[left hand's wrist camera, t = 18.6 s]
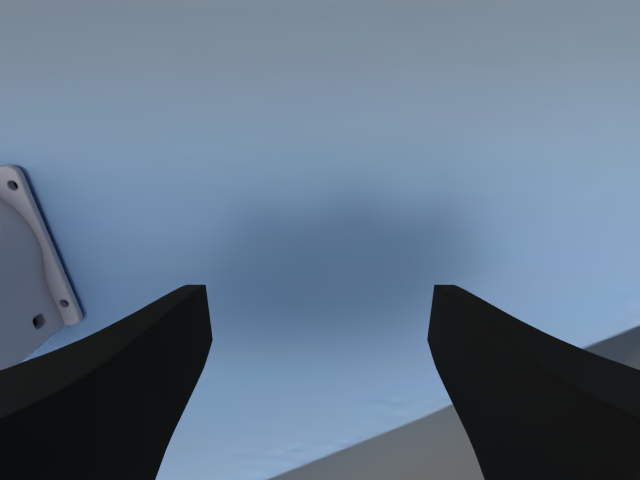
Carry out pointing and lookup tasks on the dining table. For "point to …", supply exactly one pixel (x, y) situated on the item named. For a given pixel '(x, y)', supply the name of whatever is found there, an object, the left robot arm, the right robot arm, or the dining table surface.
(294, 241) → the dining table surface
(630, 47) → the dining table surface
